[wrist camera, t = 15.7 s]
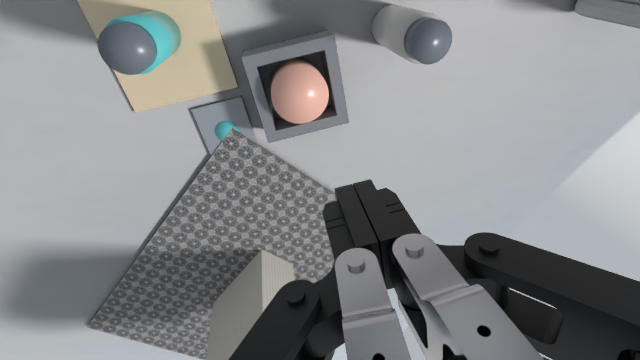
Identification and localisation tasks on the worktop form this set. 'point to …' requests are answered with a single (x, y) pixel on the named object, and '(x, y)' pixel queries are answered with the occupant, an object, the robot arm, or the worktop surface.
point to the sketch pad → (183, 65)
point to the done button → (298, 91)
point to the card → (222, 121)
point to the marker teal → (139, 42)
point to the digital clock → (611, 11)
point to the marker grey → (412, 34)
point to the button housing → (308, 47)
